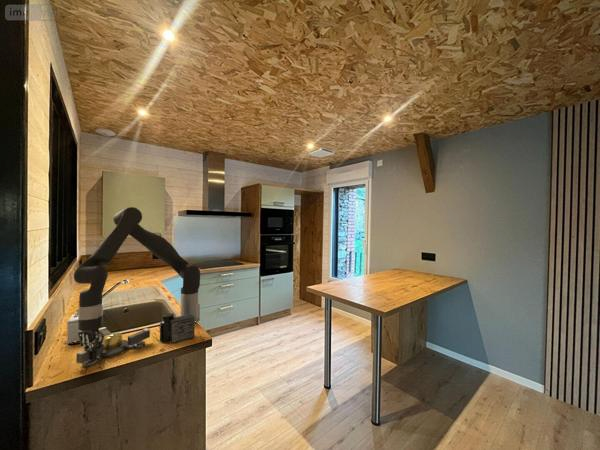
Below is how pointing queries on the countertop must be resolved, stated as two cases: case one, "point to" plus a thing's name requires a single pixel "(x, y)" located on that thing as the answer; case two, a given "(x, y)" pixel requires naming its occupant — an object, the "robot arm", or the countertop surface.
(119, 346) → the tribrach
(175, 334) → the small box
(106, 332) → the knob side
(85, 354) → the knob
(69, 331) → the light bulb box
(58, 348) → the countertop surface
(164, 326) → the supplement bottle
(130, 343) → the knob
